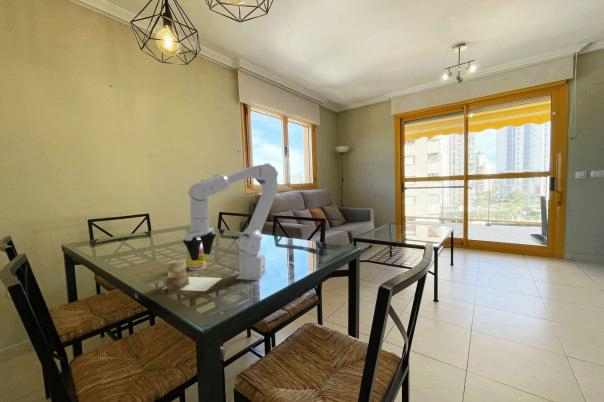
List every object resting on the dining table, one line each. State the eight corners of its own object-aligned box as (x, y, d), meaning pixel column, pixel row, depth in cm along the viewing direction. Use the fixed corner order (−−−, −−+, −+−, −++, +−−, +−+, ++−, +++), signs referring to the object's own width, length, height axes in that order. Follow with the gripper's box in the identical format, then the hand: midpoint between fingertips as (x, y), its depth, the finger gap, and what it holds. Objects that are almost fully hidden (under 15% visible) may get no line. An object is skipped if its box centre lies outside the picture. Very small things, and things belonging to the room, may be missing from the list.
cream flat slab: (222, 279, 94) (222, 278, 93) (205, 292, 82) (205, 291, 82) (183, 278, 96) (183, 276, 96) (161, 290, 84) (161, 288, 84)
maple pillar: (186, 274, 88) (185, 260, 88) (178, 278, 84) (178, 263, 84) (175, 273, 89) (175, 259, 88) (168, 277, 85) (167, 263, 84)
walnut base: (188, 283, 89) (188, 273, 88) (179, 289, 84) (179, 278, 84) (176, 282, 89) (175, 273, 89) (166, 288, 84) (165, 278, 84)
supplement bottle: (199, 271, 103) (198, 241, 103) (185, 271, 104) (184, 240, 104) (209, 266, 110) (207, 237, 109) (195, 266, 111) (194, 237, 110)
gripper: (200, 215, 94) (202, 251, 95) (175, 220, 80) (177, 262, 80) (218, 215, 93) (219, 251, 93) (195, 220, 78) (197, 263, 79)
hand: (201, 257), depth 87 cm, fingers open, 7 cm apart
